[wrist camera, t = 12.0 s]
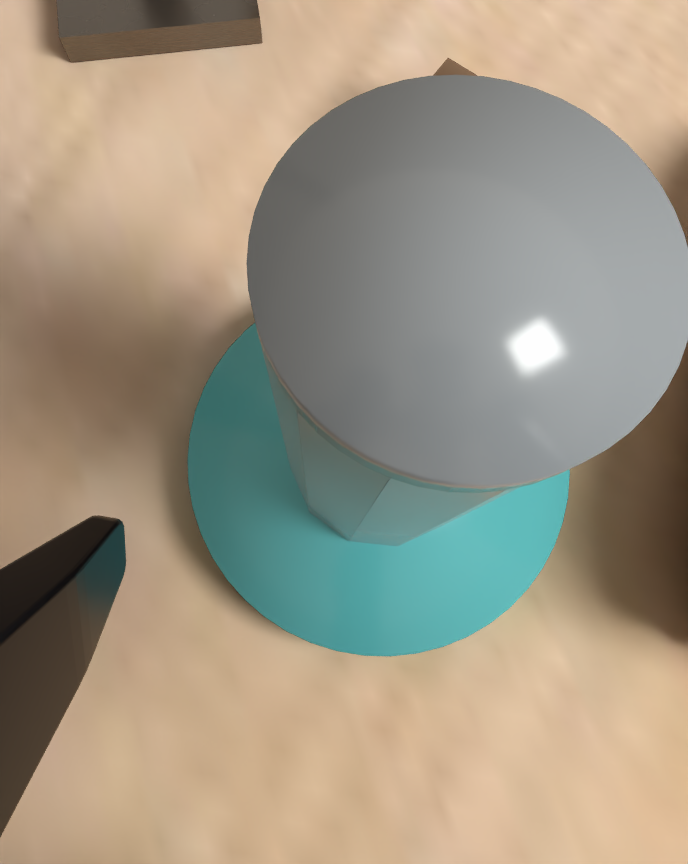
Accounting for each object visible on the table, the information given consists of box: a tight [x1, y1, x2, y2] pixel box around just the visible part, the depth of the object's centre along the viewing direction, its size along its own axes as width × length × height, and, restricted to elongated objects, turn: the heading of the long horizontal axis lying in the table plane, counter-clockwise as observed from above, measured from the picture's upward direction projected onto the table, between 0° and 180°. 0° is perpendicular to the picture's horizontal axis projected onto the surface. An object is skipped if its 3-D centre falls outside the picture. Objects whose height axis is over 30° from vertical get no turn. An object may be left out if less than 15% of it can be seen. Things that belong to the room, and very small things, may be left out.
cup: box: [247, 75, 688, 546], centre depth 15 cm, size 6×6×13 cm
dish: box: [188, 323, 570, 656], centre depth 22 cm, size 13×13×1 cm
